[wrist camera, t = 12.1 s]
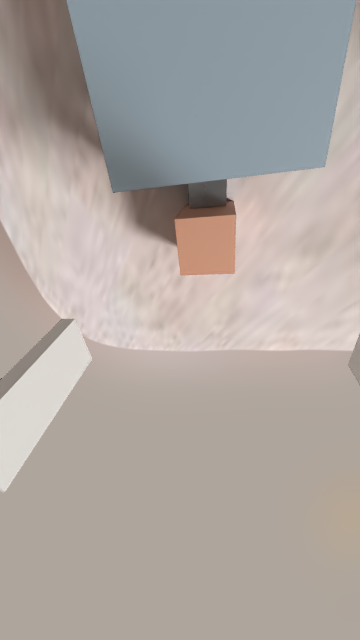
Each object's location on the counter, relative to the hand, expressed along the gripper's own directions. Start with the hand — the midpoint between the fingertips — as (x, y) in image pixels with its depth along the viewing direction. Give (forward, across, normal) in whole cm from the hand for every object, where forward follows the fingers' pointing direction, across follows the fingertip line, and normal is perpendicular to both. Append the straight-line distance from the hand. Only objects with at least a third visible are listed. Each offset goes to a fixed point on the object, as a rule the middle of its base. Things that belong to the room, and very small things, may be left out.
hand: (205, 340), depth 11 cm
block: (+19, -1, +1) cm, 19 cm away
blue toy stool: (+19, 0, +12) cm, 22 cm away
